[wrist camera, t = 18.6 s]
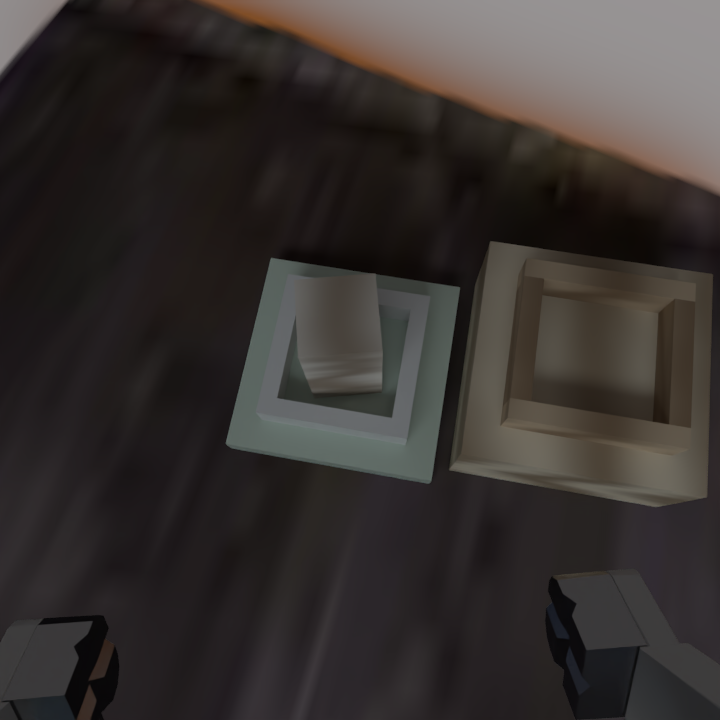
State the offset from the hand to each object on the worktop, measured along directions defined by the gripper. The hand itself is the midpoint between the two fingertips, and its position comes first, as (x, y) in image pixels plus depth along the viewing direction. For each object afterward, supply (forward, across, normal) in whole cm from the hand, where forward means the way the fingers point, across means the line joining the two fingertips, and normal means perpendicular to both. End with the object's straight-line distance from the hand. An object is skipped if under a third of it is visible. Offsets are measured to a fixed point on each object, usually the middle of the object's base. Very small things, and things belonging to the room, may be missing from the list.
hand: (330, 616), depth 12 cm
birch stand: (+25, -13, +11) cm, 30 cm away
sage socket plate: (+27, -1, +10) cm, 29 cm away
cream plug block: (+26, 0, +9) cm, 27 cm away
